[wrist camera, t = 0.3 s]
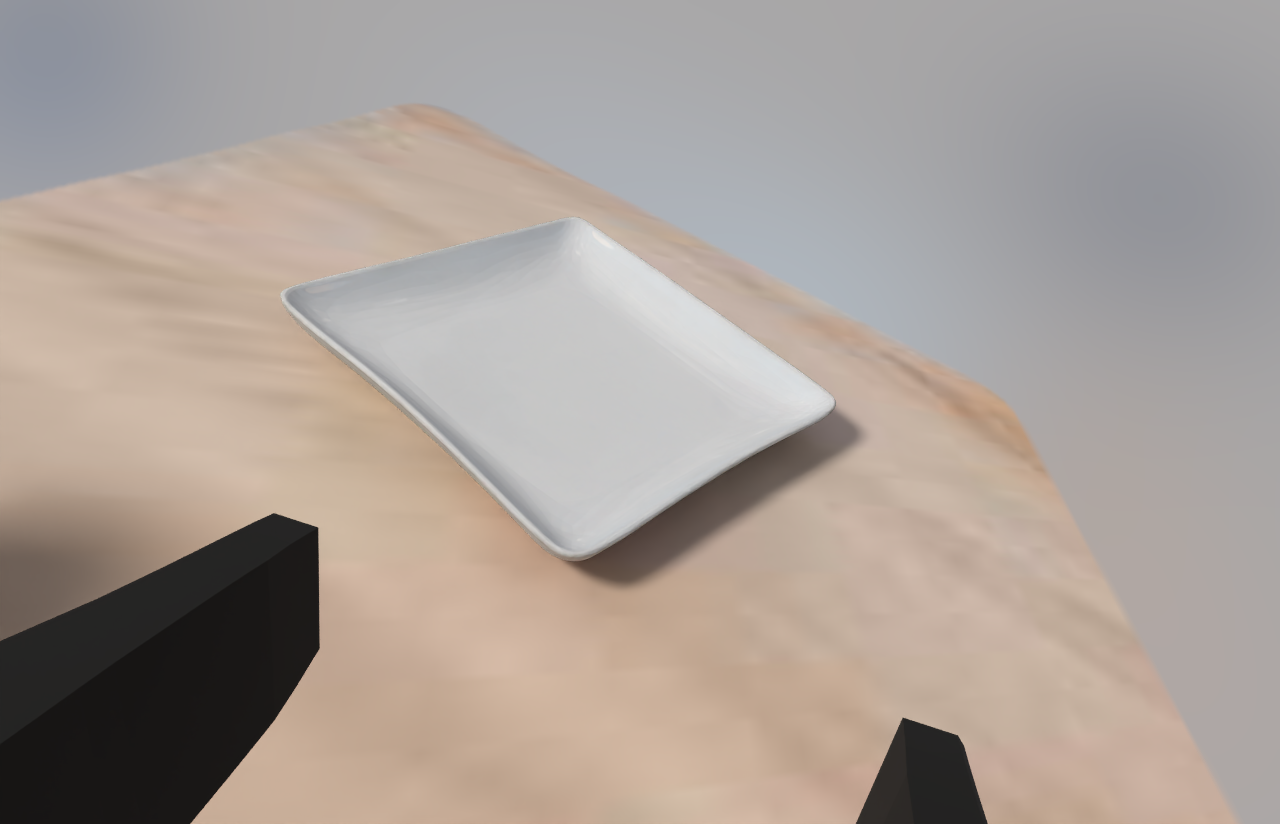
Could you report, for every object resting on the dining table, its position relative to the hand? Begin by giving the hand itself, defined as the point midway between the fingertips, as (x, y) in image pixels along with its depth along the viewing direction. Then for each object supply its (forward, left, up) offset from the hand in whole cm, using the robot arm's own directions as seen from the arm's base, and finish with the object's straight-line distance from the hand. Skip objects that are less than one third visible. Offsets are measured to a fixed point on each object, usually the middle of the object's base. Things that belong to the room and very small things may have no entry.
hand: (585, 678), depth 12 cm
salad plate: (+33, +9, -21) cm, 40 cm away
